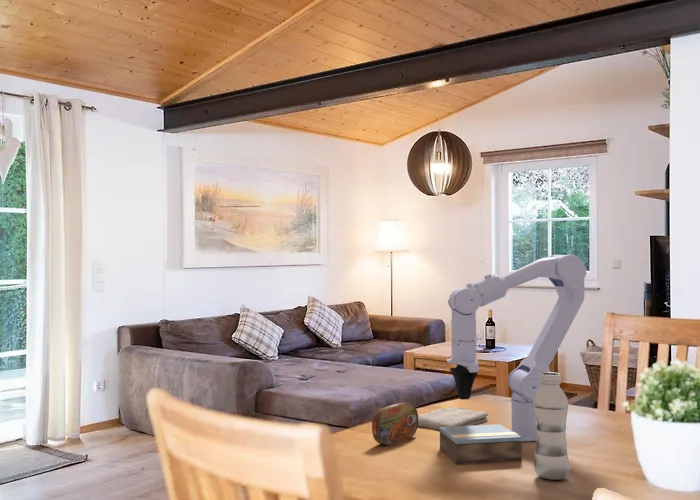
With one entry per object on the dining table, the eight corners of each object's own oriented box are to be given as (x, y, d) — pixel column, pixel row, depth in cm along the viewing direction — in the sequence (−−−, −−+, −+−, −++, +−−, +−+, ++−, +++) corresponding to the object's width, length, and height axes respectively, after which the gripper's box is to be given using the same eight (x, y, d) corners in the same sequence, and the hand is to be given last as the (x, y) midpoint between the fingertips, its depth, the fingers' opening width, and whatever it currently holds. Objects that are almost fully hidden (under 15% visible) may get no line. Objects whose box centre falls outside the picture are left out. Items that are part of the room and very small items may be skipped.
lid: (500, 427, 163) (500, 423, 163) (521, 440, 151) (521, 436, 151) (439, 430, 161) (439, 426, 161) (456, 444, 149) (456, 439, 149)
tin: (380, 449, 162) (380, 411, 162) (369, 446, 164) (369, 409, 164) (419, 435, 173) (419, 400, 173) (408, 433, 175) (408, 398, 175)
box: (500, 445, 163) (500, 428, 163) (521, 460, 151) (521, 441, 151) (439, 449, 161) (439, 431, 161) (456, 464, 149) (456, 445, 149)
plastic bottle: (564, 485, 135) (563, 377, 135) (528, 480, 139) (528, 374, 139) (574, 476, 140) (573, 372, 141) (539, 471, 144) (538, 370, 144)
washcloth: (490, 421, 189) (490, 409, 189) (453, 435, 175) (453, 422, 175) (451, 415, 197) (451, 403, 197) (412, 427, 183) (412, 415, 183)
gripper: (438, 337, 175) (438, 393, 175) (456, 344, 161) (457, 405, 161) (466, 336, 177) (466, 392, 177) (487, 343, 162) (487, 404, 162)
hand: (464, 398), depth 169 cm, fingers closed
